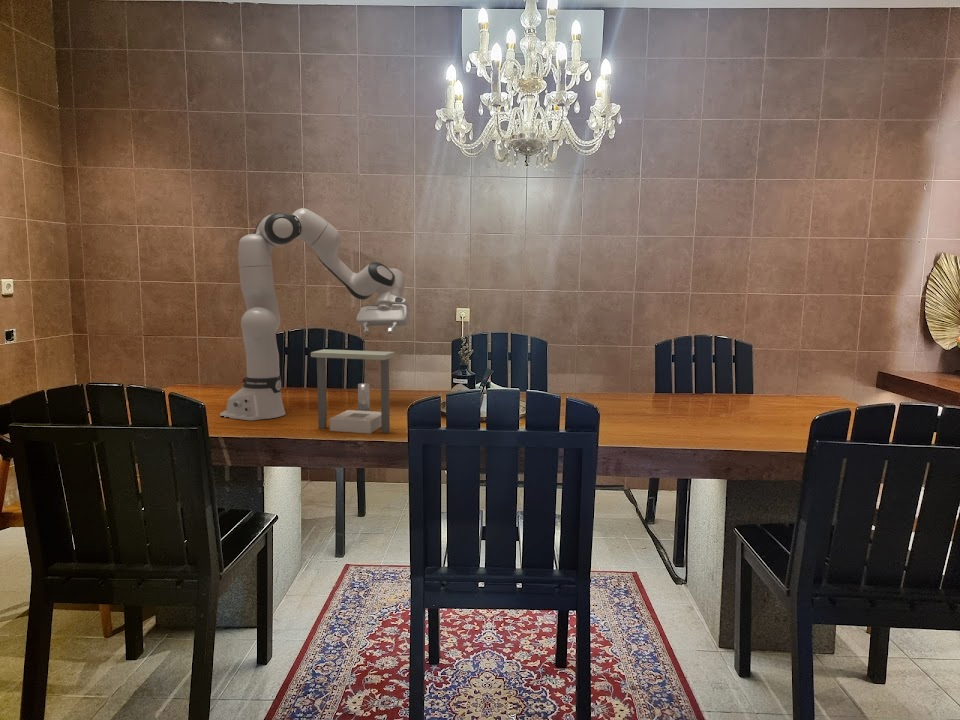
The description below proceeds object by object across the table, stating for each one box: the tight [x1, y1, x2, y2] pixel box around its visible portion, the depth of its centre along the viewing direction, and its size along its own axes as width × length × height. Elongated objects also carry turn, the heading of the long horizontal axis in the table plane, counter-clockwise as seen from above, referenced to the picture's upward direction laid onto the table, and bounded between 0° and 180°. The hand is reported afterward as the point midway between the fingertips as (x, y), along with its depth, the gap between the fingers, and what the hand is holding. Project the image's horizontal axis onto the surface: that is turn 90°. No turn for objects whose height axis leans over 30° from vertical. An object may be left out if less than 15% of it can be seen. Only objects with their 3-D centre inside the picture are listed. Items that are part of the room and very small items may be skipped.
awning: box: [310, 349, 396, 434], centre depth 208 cm, size 25×9×26 cm, turn 77°
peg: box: [357, 382, 371, 411], centre depth 227 cm, size 4×4×12 cm
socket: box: [329, 409, 382, 434], centre depth 213 cm, size 14×14×4 cm
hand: (378, 333), depth 237 cm, fingers open, 8 cm apart
